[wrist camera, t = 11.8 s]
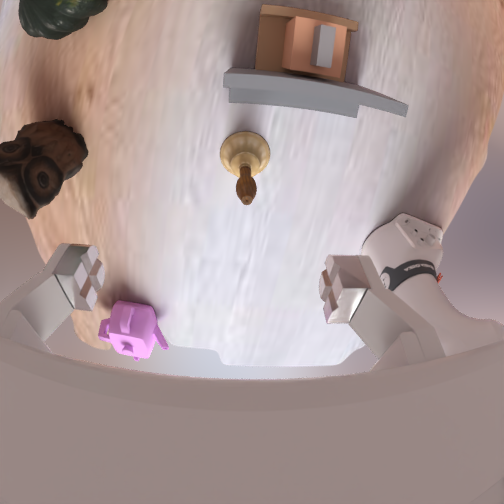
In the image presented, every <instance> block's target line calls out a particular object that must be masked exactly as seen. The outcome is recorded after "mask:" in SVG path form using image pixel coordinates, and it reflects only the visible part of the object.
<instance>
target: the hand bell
mask: <svg viewBox="0 0 504 504" xmlns="http://www.w3.org/2000/svg"><path fill="white" fill-rule="evenodd" d="M220 158H221V162H222V164H223V166H224V167H225V168H226V169H227V170H228V171H229V172H230V173H232V174H234V175H235V176H237V177H239V179H238V181H237V184H236V192H237V195H238V197H239V198H240V200H241V201H242V203H243V204H244V205H249V204H251V203H252V200H253V199H254V197H255V195H256V191H257V188H256V183H255V180H254V179H253V178H252V177H253V176H255V175H256V174H258V173H260V172H261V171H262V170H264V168H265V167H266V166H267V164H268V162H269V159H270V149H269V146H268V144H267V142H266V141H265V140H264V139H263V138H262V137H261V136H260V135H258V134H256V133H253V132H248V131H242V132H237V133H235V134H232V135H231V136H229V137H228V138H227V139H226V140H225V141H224V143H223V144H222V147H221V150H220Z"/></svg>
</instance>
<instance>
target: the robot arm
mask: <svg viewBox="0 0 504 504" xmlns="http://www.w3.org/2000/svg"><path fill="white" fill-rule="evenodd" d="M442 237H443V231H442V229H441V228H440V227H437V226H435V225H432V224H430V223H428V222H425V221H423V220H420V219H418V218H415V217H413V216H410V215H407V214H405V213H401V214H399V215H398V216H397V217H396V218H395V219H393V220H392V221H391V222H389V223H387V224H385V225H383V226H381V227H379V228H378V229H376V230H375V231H374V232H373V233H372V234H371V235H370V236H369V237H368V238H367V240H366V241H365V243H364V245H363V247H362V251H361V255H355V256H354V255H328V257H327V258H326V261H325V265H326V269H325V270H324V271H323V272H322V273H321V277H320V281H319V293H320V297H321V299H322V300H323V301H324V302H325V305H324V307H323V310H324V314H325V318H326V322H327V324H331V323H349V325H350V326H351V328H352V329H353V330H354V331H355V332H356V334H357V335H358V336H359V337H360V338H361V339H362V341H363V342H364V343H365V344H366V345H367V346H368V348H369V349H370V350H371V351H372V352H373V354H374V355H375V356H376V357H377V358H378V361H377V362H376V364H374V366H373V367H372V368H371V369H370V371H369V372H363V373H355V374H346V375H338V376H326V377H312V378H295V379H219V378H202V377H189V376H178V375H167V374H159V373H151V372H144V371H137V370H129V369H124V368H118V367H112V366H107V365H102V364H97V363H92V362H87V361H83V360H78V359H74V358H70V357H66V356H62V355H58V354H55V353H52V352H51V350H50V348H49V347H48V346H47V345H46V344H45V340H46V339H47V338H48V337H49V336H50V335H51V334H52V333H53V332H54V331H55V329H56V328H57V327H58V326H59V325H60V324H61V323H62V322H63V321H64V320H65V319H66V318H67V317H68V316H69V315H70V314H71V313H72V312H73V311H74V309H77V310H85V311H92V310H93V307H94V305H95V302H96V300H97V298H98V297H97V294H96V292H97V291H98V290H99V289H101V288H102V285H103V283H104V277H105V271H104V267H103V264H102V262H101V261H100V260H99V259H97V257H98V255H99V253H98V250H97V248H96V246H94V245H85V244H66V243H62V244H60V245H59V246H58V247H57V249H56V250H55V252H54V253H53V255H52V256H51V258H50V259H49V261H48V263H47V264H46V266H45V267H44V269H43V271H42V272H41V273H37V274H36V275H35V276H33V277H32V278H30V279H29V280H28V281H26V282H25V283H24V284H23V285H21V286H20V287H19V288H17V289H16V290H15V291H14V292H12V293H11V294H10V295H8V296H7V297H6V298H5V299H3V300H2V301H1V302H0V504H504V325H502V324H501V323H500V322H498V321H495V320H492V319H476V318H472V317H469V316H466V315H464V314H462V313H461V312H459V311H458V310H457V309H456V308H455V307H454V306H453V305H452V304H451V303H450V301H449V300H448V298H447V297H446V295H445V294H444V292H443V291H442V290H441V287H440V286H439V284H438V283H439V282H440V280H441V278H442V277H443V276H441V277H440V275H441V273H440V274H439V275H438V277H437V276H436V270H437V268H438V266H439V264H440V262H441V259H442V256H443V248H442V246H441V241H442ZM439 278H440V279H439Z"/></svg>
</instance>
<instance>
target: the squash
mask: <svg viewBox="0 0 504 504" xmlns="http://www.w3.org/2000/svg"><path fill="white" fill-rule="evenodd" d="M106 7H107V0H20V3H19V19H20V23H21V25H22V28H23V29H24V30H25V31H26V32H27V34H29V35H30V36H33V37H45V38H47V39H54V40H58V39H61V38H63V37H65V36H67V35H69V34H71V33H72V32H74V31H77V30H79V29H81V28H83V27H84V26H85V25H86V24H87V22H88V19H89V17H90V16H94V15H96V14H99V13H100V12H102V11H103V10H104V9H105V8H106Z"/></svg>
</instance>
